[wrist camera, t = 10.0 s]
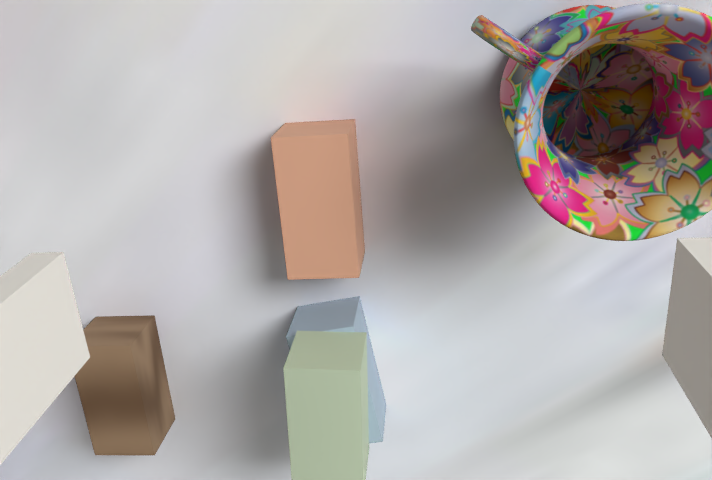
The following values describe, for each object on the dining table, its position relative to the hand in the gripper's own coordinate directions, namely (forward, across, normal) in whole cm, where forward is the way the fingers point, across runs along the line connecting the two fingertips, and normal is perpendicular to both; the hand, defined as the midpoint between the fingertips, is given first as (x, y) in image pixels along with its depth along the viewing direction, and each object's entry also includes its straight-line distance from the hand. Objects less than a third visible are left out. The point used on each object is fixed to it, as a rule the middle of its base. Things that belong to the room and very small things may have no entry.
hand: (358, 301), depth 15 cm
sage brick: (+20, -4, -17) cm, 26 cm away
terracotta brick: (+24, -4, -5) cm, 25 cm away
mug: (+24, +8, 0) cm, 26 cm away
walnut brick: (+24, -18, -18) cm, 35 cm away
